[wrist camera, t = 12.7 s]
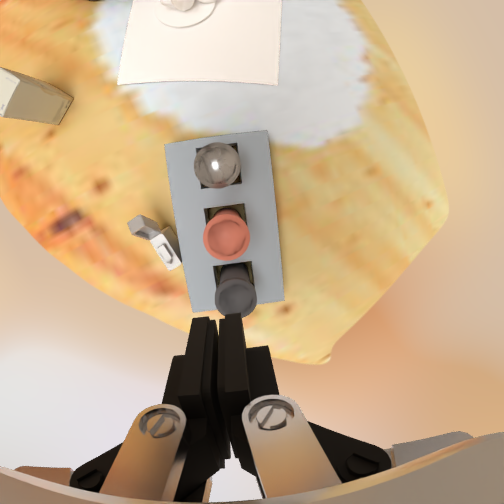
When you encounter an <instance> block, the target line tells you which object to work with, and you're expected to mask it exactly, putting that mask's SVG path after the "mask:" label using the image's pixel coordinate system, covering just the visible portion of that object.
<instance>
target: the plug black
mask: <svg viewBox="0 0 504 504" xmlns="http://www.w3.org/2000/svg"><path fill="white" fill-rule="evenodd" d="M256 304H257V295H256V291H255V288H254V287H253V285H252V284H251V283H250V279H249V274H248V269H247V267H246V265H245V264H244V263H243V262H240V263H232V264H224V265H223V266H222V268H221V271H220V284H219V286H218V287H217V289H216V292H215V305H216V308H217V309H218V311H219V312H220V313H221V314H222V315H224V316H225V314H232V313H240V312H241V316H242V318H243V317H246V316H247V315H249V314H250V313H251V312H252V311H253V310H254V309H255V307H256Z"/></svg>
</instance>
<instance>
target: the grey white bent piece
mask: <svg viewBox="0 0 504 504" xmlns="http://www.w3.org/2000/svg"><path fill="white" fill-rule="evenodd" d="M127 224H128V226H129V229H130V231H131V234H132V235H134V236H137V237H140V238H143V239H146V240H151V241H150V242H151V244H152V245H153V247H154V248H155V250H156V252H157V253H158V255H159V256H160V258H161V260H162V261H163V263H164V264H165V265H166V267H167V268H168V270H170V271H171V270H172V269H174V268H176V267H178V266H179V265H181V263H182V257H181V251H180V246H179V240H178V238H177V237H176V235H175V234H174V232H173V230H172V229H171V227H170V226H168V227H166V228H164V229H163V230H160V228H159V226H158V224H157V222H155V221H153V220H151V219H149V218H147V217H145V216H143V215H138V216H136V217H135V218H133V219H132V220H131V221H129V222H128V223H127Z"/></svg>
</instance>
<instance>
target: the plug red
mask: <svg viewBox="0 0 504 504" xmlns="http://www.w3.org/2000/svg"><path fill="white" fill-rule="evenodd" d="M249 242H250V233H249V230H248V227H247V225H246V223H245V222H244V221H243V220H242V219H241V216H240V214H239V213H238V212H237V211H236V210H234V209H232V208H222V209H220V210H218V211H217V212H216V213H215V214H214V216H213V218H212V219H211V220H210V221H209V222H208V223H207V225H206V227H205V230H204V233H203V243H204V246H205V248H206V250H207V251H208V253H209V254H210V255H212V256H213V257H214V258H216V259H219V260H223V261H230V260H234V259H237V258H238V257H240V256H241V255H243V254H244V253H245V251H246V250H247V248H248V246H249Z"/></svg>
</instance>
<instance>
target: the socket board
mask: <svg viewBox="0 0 504 504" xmlns="http://www.w3.org/2000/svg"><path fill="white" fill-rule="evenodd" d="M215 142H221V143H225V144H228V145H230V146H237V153H238V155H239V158H240V161H241V169H240V179H241V182H237V183H232V184H230V185H229V186H227V187H224V188H219V189H214V188H210V187H204V184H202V183H201V182H200V181H199V180H198V178H197V177H196V175H195V172H194V160H195V157H196V155H197V153H198V152H199V151H200V150H201V149H202V148H203V147H204V146H206V145H208V144H210V143H215ZM164 145H165V154H166V161H167V169H168V177H169V184H170V191H171V197H172V204H173V210H174V217H175V223H176V229H177V234H178V240H179V246H180V251H181V257H182V262H183V267H184V272H185V277H186V282H187V287H188V292H189V297H190V302H191V306H192V311H193V312H202V311H210V310H218V309H217V308H216V305H215V292H216V289H217V287H218V286H219V282H218V276H217V270H216V266H217V265H224V264H232V263H240V262H247V261H251V269H252V277H253V284H252V285H253V287H254V288H255V291H256V295H257V304H264V303H271V302H278V301H285V300H284V288H283V276H282V265H281V254H280V243H279V232H278V222H277V212H276V202H275V193H274V184H273V174H272V166H271V157H270V148H269V140H268V131H267V130H265V131H254V132H245V133H236V134H228V135H220V136H213V137H206V138H199V139H193V140H187V141H181V142H175V143H169V144H164ZM241 203H243V204H244V212H245V220H246V225H247V227H248V230H249V233H250V242H249V246H248V248H247V250H246V251H245V253H244V254H243V255H241V256H240V257H238V258H237V259H234V260H230V261H223V260H219V259H216V258H214V257H213V256H212V255H210V254H209V253H208V251H207V250H206V248H205V246H204V243H203V233H204V230H205V227H206V225H207V223H208V222H209V218H208V211H207V208H211V207H219V206H226V205H234V204H241ZM257 304H256V305H257Z"/></svg>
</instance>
